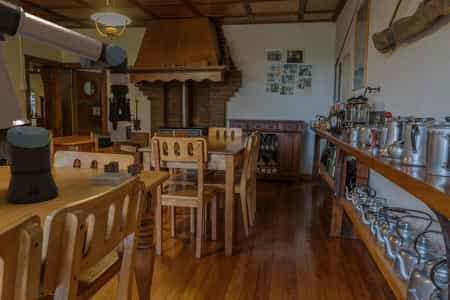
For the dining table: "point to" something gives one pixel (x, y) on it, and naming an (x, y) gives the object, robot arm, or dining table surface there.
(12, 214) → the dining table surface
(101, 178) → the tray
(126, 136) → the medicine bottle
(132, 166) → the rack
